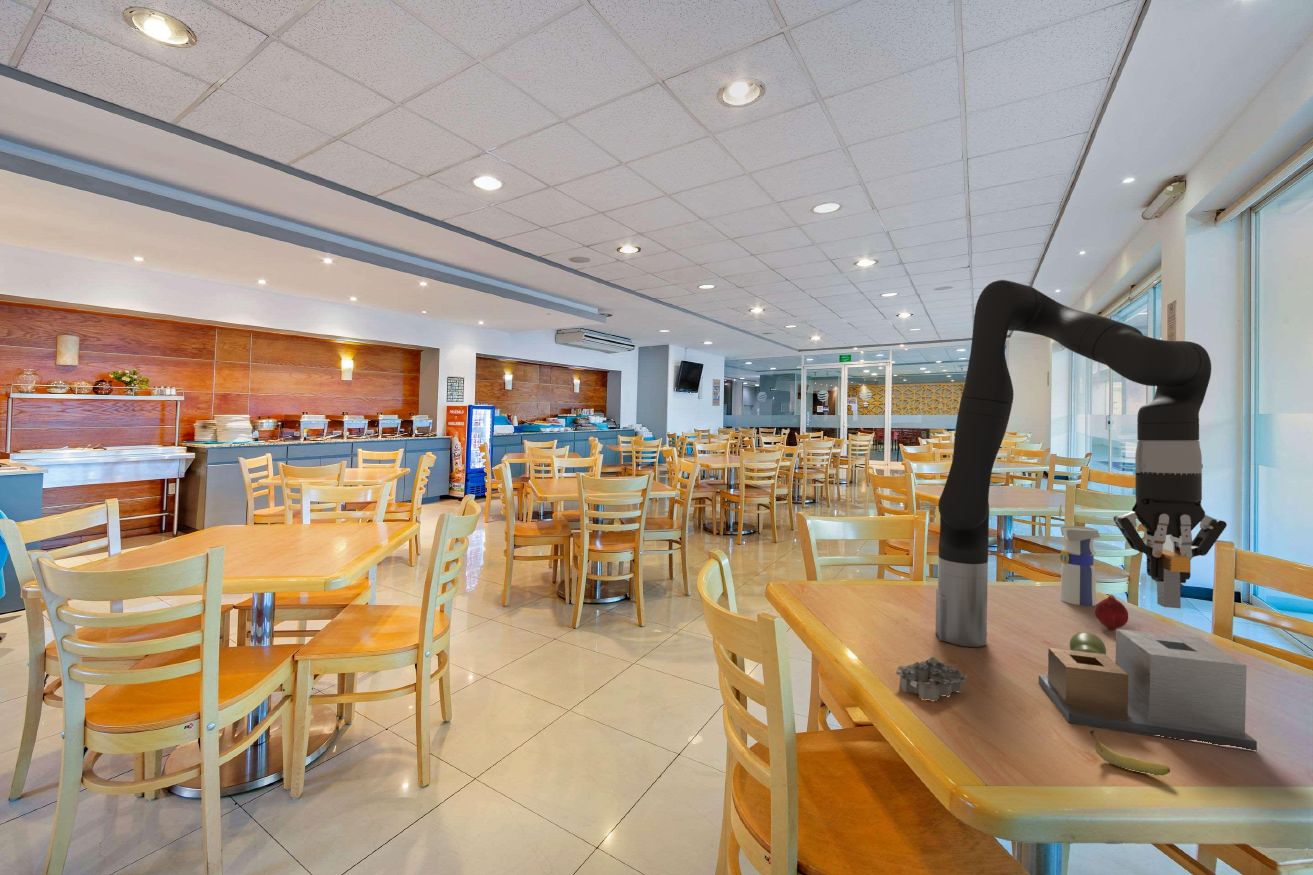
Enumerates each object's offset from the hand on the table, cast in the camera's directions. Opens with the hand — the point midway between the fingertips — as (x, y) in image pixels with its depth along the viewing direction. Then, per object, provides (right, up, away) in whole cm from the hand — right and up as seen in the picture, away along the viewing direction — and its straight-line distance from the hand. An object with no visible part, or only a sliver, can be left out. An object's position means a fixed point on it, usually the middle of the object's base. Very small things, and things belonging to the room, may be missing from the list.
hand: (1167, 580), depth 85 cm
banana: (-17, -22, -13) cm, 31 cm away
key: (0, -4, 0) cm, 4 cm away
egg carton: (-32, -22, +10) cm, 40 cm away
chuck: (-4, -22, +2) cm, 22 cm away
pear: (+4, -22, +20) cm, 30 cm away
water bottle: (+31, -21, +58) cm, 70 cm away
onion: (+23, -21, +38) cm, 49 cm away
